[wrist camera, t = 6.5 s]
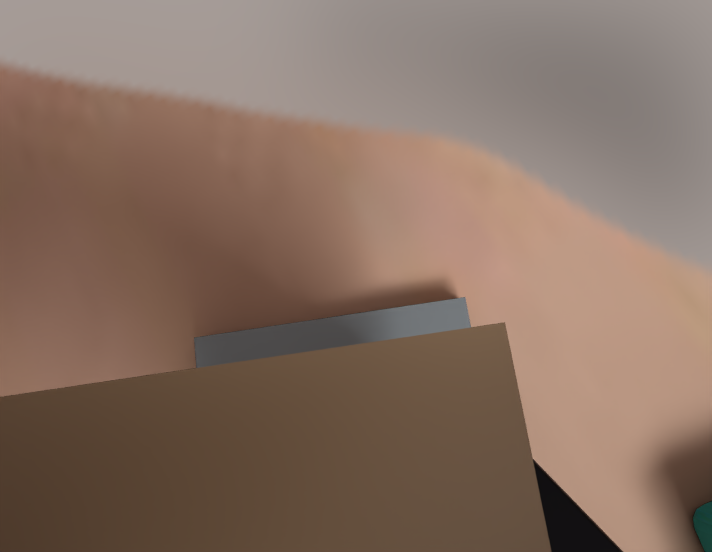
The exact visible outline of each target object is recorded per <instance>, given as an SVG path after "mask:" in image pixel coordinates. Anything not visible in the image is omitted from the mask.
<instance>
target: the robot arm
mask: <svg viewBox="0 0 712 552" xmlns="http://www.w3.org/2000/svg"><path fill="white" fill-rule="evenodd" d="M533 463H534V468H535V473H536V478H537V483H538V488H539V493H540V498H541V503H542V508H543V512H544V517H545V522H546V527H547V532H548V537H549V542H550V547H551V552H623V551H622V550H621V549H620V548H619V547H618V546H617V545H616V544H615V543H614V542H613V541H612V540H611V539H610V538H609V537H608V536H607V535H606V534H605V533H604V532H603V530H602V529H601V528H600V527H599V526H598V525H597V524H596V523H595V522H594V521H593V520H592V519H591V518H590V517H589V516H588V515H587V514H586V513H585V512H584V511H583V510H582V509H581V508H580V507H579V506H578V505H577V504H576V503H575V502H574V501H573V500H572V499H571V498H570V496H569V495H568V494H567V493H566V492H565V491H564V490H563V489H562V488H561V487H560V486H559V485H558V484H557V483H556V482H555V481H554V480H553V479H552V478H551V477H550V476H549V475H548V474H547V473H546V472H545V471H544V470H543V469H542V468H541V467H540V466H539V465H538V464H537V463H536V461H535V460H534V459H533Z"/></svg>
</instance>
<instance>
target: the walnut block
mask: <svg viewBox="0 0 712 552" xmlns="http://www.w3.org/2000/svg"><path fill="white" fill-rule="evenodd" d="M0 552H551V547H550V542H549V537H548V532H547V527H546V522H545V517H544V512H543V508H542V503H541V498H540V493H539V488H538V483H537V478H536V473H535V468H534V463H533V458H532V454H531V449H530V444H529V439H528V434H527V429H526V424H525V419H524V414H523V409H522V404H521V400H520V395H519V390H518V385H517V380H516V375H515V370H514V365H513V360H512V355H511V350H510V345H509V341H508V336H507V331H506V326H505V323H498V324H491V325H484V326H477V327H471V328H464V329H457V330H450V331H444V332H437V333H430V334H423V335H417V336H410V337H403V338H396V339H390V340H383V341H376V342H369V343H362V344H356V345H349V346H342V347H335V348H329V349H322V350H315V351H308V352H302V353H295V354H288V355H281V356H274V357H268V358H261V359H254V360H247V361H241V362H234V363H227V364H220V365H214V366H207V367H200V368H193V369H187V370H180V371H173V372H166V373H159V374H153V375H146V376H139V377H132V378H126V379H119V380H112V381H105V382H99V383H92V384H85V385H78V386H71V387H65V388H58V389H51V390H44V391H38V392H31V393H24V394H17V395H11V396H4V397H0Z"/></svg>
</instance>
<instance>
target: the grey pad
mask: <svg viewBox="0 0 712 552" xmlns="http://www.w3.org/2000/svg"><path fill="white" fill-rule="evenodd" d="M464 328H471V325H470V320H469V315H468V309H467V304H466V299H465V297H463V298H456V299H449V300H443V301H436V302H429V303H423V304H416V305H409V306H403V307H396V308H389V309H383V310H376V311H369V312H362V313H356V314H349V315H342V316H336V317H329V318H322V319H316V320H309V321H302V322H296V323H289V324H282V325H275V326H269V327H262V328H255V329H249V330H242V331H235V332H229V333H222V334H215V335H209V336H202V337H195V338H194V343H195V355H196V368H200V367H207V366H214V365H220V364H227V363H234V362H241V361H247V360H254V359H261V358H268V357H274V356H281V355H288V354H295V353H302V352H308V351H315V350H322V349H329V348H335V347H342V346H349V345H356V344H362V343H369V342H376V341H383V340H390V339H396V338H403V337H410V336H417V335H423V334H430V333H437V332H444V331H450V330H457V329H464Z"/></svg>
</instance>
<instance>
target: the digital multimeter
mask: <svg viewBox="0 0 712 552" xmlns="http://www.w3.org/2000/svg"><path fill="white" fill-rule="evenodd" d="M693 522H694V528H695V530H696V533H697V535H698V537H699V540H700V542H701V544H702V546H703V549H704V551H705V552H712V501H711V502H709V503H706V504H704V505H702V506H701V507H699V508H698V509H696V512H695V514H694V516H693Z"/></svg>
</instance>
